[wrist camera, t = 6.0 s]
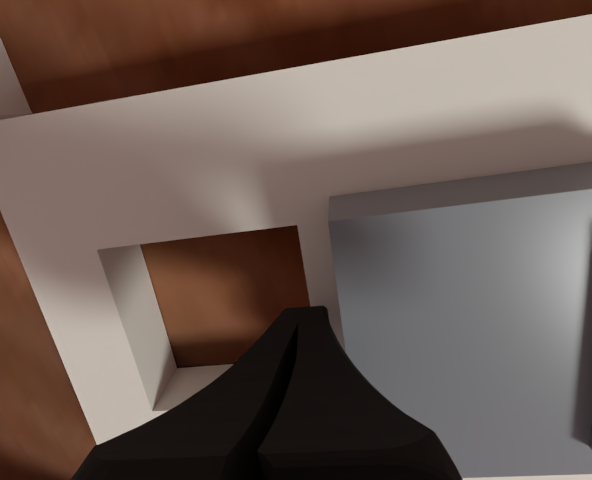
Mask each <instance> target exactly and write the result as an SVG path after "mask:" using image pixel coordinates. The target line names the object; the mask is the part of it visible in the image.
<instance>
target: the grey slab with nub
mask: <svg viewBox="0 0 592 480" xmlns="http://www.w3.org/2000/svg"><path fill="white" fill-rule="evenodd" d="M328 226H329V233H330V241H331V248H332V255H333V263H334V270H335V278H336V285H337V292H338V300H339V307H340V314H341V322H342V329H343V337H344V344H345V351H346V354H347V356H348V357H349V358H350V360H351V361H352V363H353V364H354V365H355V366H356V368H357V369H358V370H359V371H360V372H361V374H362V375H363V376H364V377H365V378H366V379H367V380H368V381H369V382H370V384H371V385H372V386H373V387H374V388H376V389H377V390H378V391H379V392H380V393H381V394H382V395H383V396H384V397H386V398H387V399H388V400H389V401H390V402H391V403H392V404H393V405H395V406H396V407H397V408H399V409H400V410H401V411H403V412H404V413H405V414H407V415H408V416H410V417H412V418H413V419H415V420H417V421H418V422H420V423H421V424H423V425H425V426H426V427H428V428H429V429H431V430H433V431H434V432H435V433H436V435H437V436H438V438H439V439H440V441H441V442H442V444H443V445H444V447H445V449H446V450H447V452H448V454H449V455H450V457H451V459H452V460H453V462H454V464H455V466H456V467H457V469H458V471H459V473H460V475H461V477H462V478H482V477H514V476H546V475H579V474H592V162H589V163H581V164H574V165H566V166H559V167H551V168H543V169H536V170H528V171H521V172H513V173H505V174H498V175H490V176H483V177H475V178H467V179H460V180H452V181H444V182H437V183H429V184H422V185H414V186H406V187H399V188H391V189H384V190H376V191H368V192H361V193H353V194H345V195H338V196H330V197H329V210H328Z"/></svg>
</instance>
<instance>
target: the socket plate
mask: <svg viewBox="0 0 592 480" xmlns="http://www.w3.org/2000/svg"><path fill="white" fill-rule="evenodd" d="M589 162H592V14H590V15H584V16H578V17H573V18H567V19H562V20H556V21H551V22H545V23H539V24H534V25H528V26H523V27H517V28H511V29H506V30H500V31H495V32H489V33H484V34H478V35H472V36H467V37H461V38H456V39H450V40H444V41H439V42H433V43H428V44H422V45H416V46H411V47H405V48H400V49H394V50H389V51H383V52H377V53H372V54H366V55H361V56H355V57H349V58H344V59H338V60H333V61H327V62H321V63H316V64H310V65H305V66H299V67H294V68H288V69H282V70H277V71H271V72H266V73H260V74H254V75H249V76H243V77H238V78H232V79H227V80H221V81H215V82H210V83H204V84H199V85H193V86H187V87H182V88H176V89H171V90H165V91H159V92H154V93H148V94H143V95H137V96H132V97H126V98H120V99H115V100H109V101H104V102H98V103H92V104H87V105H81V106H76V107H70V108H65V109H59V110H53V111H48V112H42V113H37V114H31V115H25V116H20V117H14V118H9V119H3V120H0V211H1V213H2V216H3V218H4V221H5V223H6V226H7V228H8V230H9V233H10V235H11V238H12V240H13V243H14V245H15V247H16V250H17V252H18V255H19V257H20V259H21V262H22V264H23V267H24V269H25V272H26V274H27V276H28V279H29V281H30V284H31V286H32V289H33V291H34V293H35V296H36V298H37V301H38V303H39V305H40V308H41V310H42V313H43V315H44V318H45V320H46V322H47V325H48V327H49V330H50V332H51V334H52V337H53V339H54V342H55V344H56V347H57V349H58V351H59V354H60V356H61V359H62V361H63V364H64V366H65V368H66V371H67V373H68V376H69V378H70V380H71V383H72V385H73V388H74V390H75V393H76V395H77V397H78V400H79V402H80V405H81V407H82V409H83V412H84V414H85V417H86V419H87V422H88V424H89V426H90V429H91V431H92V434H93V436H94V439H95V441H96V443H97V445H99V444H101V443H103V442H106V441H108V440H110V439H112V438H114V437H117V436H119V435H121V434H123V433H126V432H128V431H130V430H132V429H134V428H137V427H139V426H140V425H142V424H144V423H146V422H148V421H150V420H152V419H154V418H156V417H158V416H160V415H161V414H163V413H165V412H167V411H168V410H170V409H172V408H174V407H175V406H177V405H179V404H180V403H182V402H183V401H185V400H186V399H188V398H189V397H191V396H192V395H194V394H195V393H197V392H198V391H200V390H201V389H203V388H204V387H206V386H207V385H209V384H210V383H211V382H213V381H214V380H215V379H216V378H218V377H219V376H220V375H221V374H223V373H224V372H225V371H226V370H228V369H229V368H230V367H231V366H232V365H233V364H227V365H214V366H200V367H187V368H177V366H176V362H175V359H174V356H173V352H172V349H171V346H170V343H169V339H168V336H167V333H166V329H165V326H164V323H163V319H162V316H161V313H160V310H159V306H158V303H157V300H156V296H155V293H154V290H153V286H152V283H151V280H150V277H149V273H148V270H147V267H146V263H145V260H144V257H143V253H142V250H141V247H140V244H147V243H155V242H163V241H171V240H179V239H187V238H195V237H204V236H212V235H220V234H228V233H236V232H244V231H252V230H261V229H269V228H277V227H285V226H293V225H297V227H298V234H299V240H300V246H301V252H302V258H303V264H304V271H305V277H306V283H307V289H308V295H309V301H310V307H311V306H322V305H323V306H325V307H326V308H327V309H328V316H329V322H330V325H331V327H332V329H333V332H334V334H335V335H336V337H337V339H338V341H339V343H340V345H341V346H342V348H343V349H344V351H345V344H344V337H343V329H342V322H341V314H340V307H339V300H338V292H337V285H336V278H335V270H334V263H333V255H332V248H331V241H330V233H329V226H328V210H329V197H330V196H338V195H345V194H353V193H361V192H368V191H376V190H384V189H391V188H399V187H406V186H414V185H422V184H429V183H437V182H444V181H452V180H460V179H467V178H475V177H483V176H490V175H498V174H505V173H513V172H521V171H528V170H536V169H543V168H551V167H559V166H566V165H574V164H581V163H589ZM345 353H346V351H345ZM462 479H463V480H592V474H579V475H546V476H514V477H482V478H462Z"/></svg>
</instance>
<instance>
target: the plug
mask: <svg viewBox="0 0 592 480" xmlns="http://www.w3.org/2000/svg"><path fill="white" fill-rule="evenodd" d="M29 114H32V112H31V110H30V107H29V105H28V102H27V100H26V98H25V95H24V93H23V91H22V88H21V86H20V83H19V81H18V79H17V76H16V74H15V71H14V69H13V67H12V64H11V62H10V60H9V57H8V55H7V52H6V50H5V48H4V45H3V43H2V40H1V38H0V120H3V119H9V118H14V117H20V116H25V115H29Z"/></svg>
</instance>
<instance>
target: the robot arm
mask: <svg viewBox="0 0 592 480" xmlns="http://www.w3.org/2000/svg"><path fill="white" fill-rule="evenodd" d="M71 480H463V479H462V477H461V475H460V473H459V471H458V469H457V467H456V466H455V464H454V462H453V460H452V459H451V457H450V455H449V454H448V452H447V450H446V449H445V447H444V445H443V444H442V442H441V441H440V439H439V438H438V436H437V435H436V433H435V432H434V431H433V430H431V429H429V428H428V427H426V426H425V425H423V424H421V423H420V422H418V421H417V420H415V419H413V418H412V417H410V416H408V415H407V414H405V413H404V412H403V411H401V410H400V409H399V408H397V407H396V406H395V405H393V404H392V403H391V402H390V401H389V400H388V399H387V398H386V397H384V396H383V395H382V394H381V393H380V392H379V391H378V390H377V389H376V388H374V387H373V386H372V385H371V384H370V382H369V381H368V380H367V379H366V378H365V377H364V376H363V375H362V374H361V372H360V371H359V370H358V369H357V368H356V366H355V365H354V364H353V363H352V361H351V360H350V358H349V357H348V356H347V354H346V353H345V351H344V349H343V348H342V346H341V345H340V343H339V341H338V339H337V337H336V335H335V334H334V332H333V329H332V327H331V325H330V322H329V316H328V309H327V308H326V307H325V306H323V305H322V306H311V307H300V308H289V309H285V310H284V311H283V312H282V313H281V314H280V316H279V317H278V318H277V319H276V320H275V321H274V323H273V324H272V325H271V326H270V327H269V328H268V330H267V331H266V332H265V333H264V334H263V335H262V336H261V337H260V339H259V340H258V341H257V342H256V343H255V344H254V345H253V346H252V347H251V348H250V349H249V350H248V351H247V352H246V353H245V354H244V355H243V356H242V357H241V358H240V359H239V360H238V361H237V362H236V363H234V364H233V365H232V366H231V367H230V368H229V369H228V370H226V371H225V372H224V373H223V374H221V375H220V376H219V377H218V378H216V379H215V380H214V381H213V382H211V383H210V384H209V385H207V386H206V387H204V388H203V389H201V390H200V391H198V392H197V393H195V394H194V395H192V396H191V397H189V398H188V399H186V400H185V401H183V402H182V403H180V404H179V405H177V406H175V407H174V408H172V409H170V410H168V411H167V412H165V413H163V414H161V415H160V416H158V417H156V418H154V419H152V420H150V421H148V422H146V423H144V424H142V425H140V426H139V427H137V428H134V429H132V430H130V431H128V432H126V433H123V434H121V435H119V436H117V437H114V438H112V439H110V440H108V441H106V442H103V443H101V444H99V445H96V446H94V448H93V449H92V450H91V452H90V453H89V454H88V456H87V457H86V459H85V460H84V462H83V463H82V464H81V466H80V467H79V469H78V470H77V472H76V473H75V475H74V476H73V477H72V479H71Z"/></svg>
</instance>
